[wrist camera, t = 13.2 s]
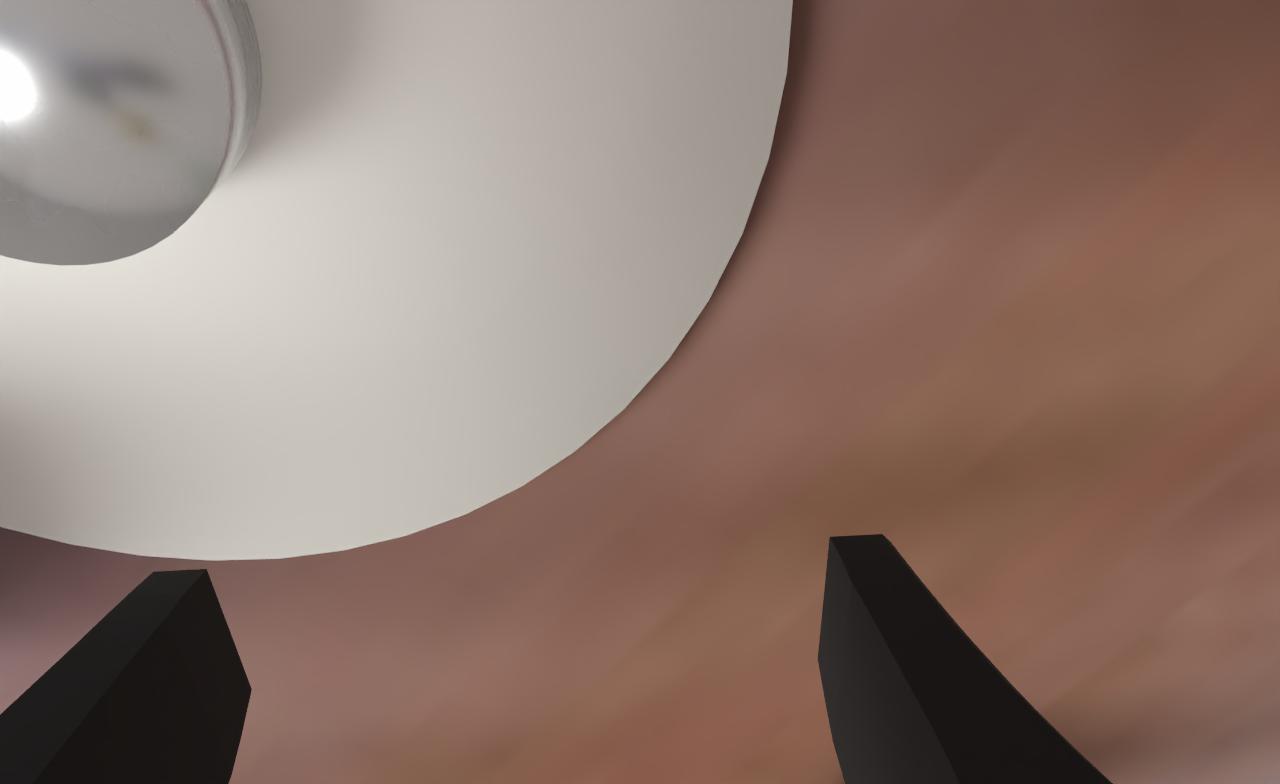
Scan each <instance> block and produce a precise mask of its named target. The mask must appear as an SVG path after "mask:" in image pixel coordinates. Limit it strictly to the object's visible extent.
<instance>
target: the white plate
mask: <svg viewBox="0 0 1280 784" xmlns="http://www.w3.org/2000/svg"><path fill="white" fill-rule="evenodd" d="M246 2H247V4H248V7H249V10H250V13H251V16H252V19H253V22H254V25H255V28H256V33H257V38H258V43H259V48H260V53H261V64H262V77H263V80H262V97H261V105H260V110H259V115H258V120H257V124H256V127H255V130H254V132H253V135H252V138H251V140H250V143H249V145H248V147H247V149H246V150H245V152H244V154H243V156H242V157H241V159H240V161H239V163H238V164H237V165H236V166H235V167H234V169H233V170H232V171H231V172H230V174H229V175H228V176H227V177H226V179H225V180H224V181H223V182H222V183H221V184H220V185H219V186H218V187H217V188H216V190H215V191H214V192H213V193H212V194H211V195H210V196H209V197H208V198H207V199H206V200H205V202H204V203H203V204H202V205H201V206H200V207H199V208H198V209H197V210H196V211H195V213H194V214H193V215H192V216H191V217H190V218H189V219H188V220H187V221H186V222H185V223H184V224H183V225H182V226H180V227H179V228H178V229H177V230H176V231H175V232H174V233H173V234H172V235H170V236H168V237H167V238H165V239H164V240H162V241H161V242H159V243H157V244H156V245H154V246H153V247H151V248H148V249H146V250H144V251H141V252H139V253H137V254H135V255H132V256H129V257H125V258H122V259H118V260H114V261H111V262H105V263H97V264H90V265H51V264H41V263H33V262H28V261H23V260H18V259H13V258H8V257H5V256H2V255H0V527H3V528H7V529H11V530H15V531H19V532H23V533H27V534H31V535H35V536H39V537H43V538H47V539H51V540H55V541H59V542H63V543H67V544H71V545H77V546H84V547H90V548H96V549H102V550H109V551H115V552H121V553H128V554H134V555H140V556H152V557H167V558H182V559H196V560H211V561H212V560H250V559H280V558H288V557H296V556H304V555H312V554H320V553H328V552H336V551H343V550H348V549H352V548H356V547H360V546H365V545H369V544H373V543H377V542H382V541H386V540H390V539H394V538H398V537H403V536H406V535H409V534H412V533H415V532H418V531H420V530H423V529H426V528H429V527H432V526H434V525H437V524H440V523H443V522H446V521H448V520H451V519H454V518H457V517H460V516H462V515H465V514H467V513H469V512H471V511H473V510H475V509H477V508H479V507H481V506H483V505H485V504H487V503H489V502H491V501H493V500H495V499H497V498H499V497H502V496H504V495H506V494H508V493H510V492H512V491H514V490H516V489H518V488H520V487H522V486H523V485H525V484H526V483H528V482H529V481H531V480H532V479H534V478H535V477H537V476H538V475H540V474H541V473H543V472H544V471H546V470H547V469H549V468H551V467H552V466H554V465H555V464H557V463H558V462H560V461H561V460H563V459H564V458H566V457H567V456H569V455H570V454H572V453H573V452H575V451H576V450H577V449H578V448H579V447H581V446H582V445H583V444H584V443H585V442H586V441H588V440H589V439H590V438H591V437H592V436H593V435H595V434H596V433H597V432H598V431H599V430H600V429H602V428H603V427H604V426H605V425H606V424H607V423H609V422H610V421H611V420H612V419H613V418H614V417H616V416H617V415H618V414H619V413H620V412H621V411H623V410H624V409H625V408H626V406H627V405H628V404H629V403H630V402H631V401H632V400H633V399H634V398H635V396H636V395H637V394H638V393H639V392H640V391H641V390H642V389H643V388H644V386H645V385H646V384H647V383H648V382H649V381H650V380H651V379H652V377H653V376H654V375H655V374H656V373H657V372H658V371H659V370H660V369H661V367H662V366H663V365H664V364H665V363H666V362H667V361H668V360H669V358H670V357H671V355H672V354H673V353H674V351H675V350H676V348H677V347H678V345H679V344H680V342H681V341H682V339H683V338H684V336H685V335H686V333H687V332H688V331H689V329H690V328H691V326H692V325H693V323H694V322H695V320H696V319H697V317H698V316H699V314H700V313H701V312H702V310H703V309H704V307H705V306H706V304H707V303H708V301H709V299H710V297H711V296H712V294H713V292H714V290H715V288H716V286H717V284H718V282H719V280H720V278H721V276H722V274H723V272H724V270H725V268H726V266H727V264H728V262H729V260H730V258H731V256H732V254H733V252H734V250H735V248H736V246H737V244H738V242H739V240H740V238H741V236H742V234H743V231H744V228H745V225H746V223H747V220H748V217H749V214H750V211H751V208H752V205H753V203H754V200H755V197H756V194H757V191H758V188H759V185H760V182H761V180H762V177H763V174H764V171H765V168H766V165H767V162H768V160H769V156H770V151H771V146H772V142H773V137H774V132H775V127H776V122H777V118H778V113H779V108H780V103H781V99H782V94H783V89H784V84H785V80H786V75H787V66H788V54H789V42H790V30H791V18H792V5H793V0H246Z"/></svg>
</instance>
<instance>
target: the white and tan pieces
mask: <svg viewBox="0 0 1280 784" xmlns="http://www.w3.org/2000/svg"><path fill="white" fill-rule="evenodd" d="M262 80H263V77H262V64H261V53H260V48H259V43H258V38H257V33H256V28H255V25H254V22H253V19H252V16H251V13H250V10H249V7H248V4H247V2H246V0H0V255H2V256H5V257H8V258H13V259H18V260H23V261H28V262H33V263H41V264H51V265H90V264H97V263H105V262H111V261H114V260H118V259H122V258H125V257H129V256H132V255H135V254H137V253H139V252H141V251H144V250H146V249H148V248H151V247H153V246H154V245H156V244H157V243H159V242H161V241H162V240H164V239H165V238H167V237H168V236H170V235H172V234H173V233H174V232H175V231H176V230H177V229H178V228H179V227H180V226H182V225H183V224H184V223H185V222H186V221H187V220H188V219H189V218H190V217H191V216H192V215H193V214H194V213H195V211H196V210H197V209H198V208H199V207H200V206H201V205H202V204H203V203H204V202H205V200H206V199H207V198H208V197H209V196H210V195H211V194H212V193H213V192H214V191H215V190H216V188H217V187H218V186H219V185H220V184H221V183H222V182H223V181H224V180H225V179H226V177H227V176H228V175H229V174H230V172H231V171H232V170H233V169H234V167H235V166H236V165H237V164H238V163H239V161H240V159H241V157H242V156H243V154H244V152H245V150H246V149H247V147H248V145H249V143H250V140H251V138H252V135H253V132H254V130H255V127H256V124H257V120H258V115H259V110H260V105H261V97H262Z"/></svg>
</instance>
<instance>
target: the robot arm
mask: <svg viewBox="0 0 1280 784" xmlns="http://www.w3.org/2000/svg"><path fill="white" fill-rule="evenodd" d="M818 663H819V668H820V674H821V680H822V685H823V691H824V697H825V702H826V708H827V713H828V718H829V723H830V728H831V733H832V739H833V743H834V746H835V750H836V753H837V757H838V760H839V763H840V767H841V770H842V773H843V777H844V780H845V783H846V784H1113V783H1111V782H1110V781H1109V780H1108V779H1107V778H1106V777H1105V776H1104V775H1103V774H1102V773H1100V772H1099V771H1098V770H1097V769H1096V768H1095V767H1094V766H1093V765H1092V764H1091V763H1090V762H1089V761H1088V760H1086V759H1085V758H1084V757H1083V756H1082V755H1081V754H1080V753H1079V752H1078V751H1077V750H1076V749H1075V748H1074V747H1073V746H1072V745H1071V744H1070V743H1069V742H1068V741H1067V740H1066V739H1065V738H1064V737H1063V736H1062V735H1061V734H1060V733H1059V732H1058V731H1057V730H1056V729H1055V728H1054V727H1053V726H1052V725H1051V724H1050V723H1049V722H1048V721H1047V720H1046V719H1045V718H1044V717H1042V716H1041V715H1040V714H1039V713H1038V712H1037V711H1036V710H1035V709H1034V708H1033V706H1032V705H1031V704H1030V703H1029V702H1028V701H1027V700H1026V699H1025V698H1024V697H1023V696H1022V695H1021V694H1020V693H1019V692H1018V691H1017V690H1016V689H1015V688H1014V687H1013V686H1012V685H1011V683H1010V682H1009V681H1008V680H1007V679H1006V678H1005V677H1004V676H1003V675H1002V674H1001V672H1000V671H999V670H998V669H997V668H996V667H995V666H994V665H993V664H992V663H991V661H990V660H989V659H988V658H987V657H986V656H985V655H984V654H983V653H982V652H981V650H980V649H979V648H978V647H977V646H976V645H975V644H974V643H973V642H972V641H971V639H970V638H969V637H968V636H967V635H966V634H965V633H964V631H963V630H962V629H961V628H960V627H959V626H958V624H957V623H956V622H955V621H954V620H953V619H952V617H951V616H950V615H949V614H948V613H947V611H946V610H945V609H944V608H943V607H942V605H941V604H940V603H939V602H938V601H937V600H936V598H935V597H934V596H933V595H932V594H931V592H930V591H929V590H928V589H927V587H926V586H925V585H924V584H923V582H922V581H921V580H920V579H919V577H918V576H917V575H916V574H915V572H914V571H913V570H912V569H911V567H910V566H909V565H908V564H907V562H906V561H905V560H904V559H903V557H902V556H901V555H900V554H899V552H898V551H897V550H896V548H895V547H894V546H893V545H892V543H891V542H890V541H889V540H888V539H887V538H886V537H885V536H884V535H882V534H877V535H858V536H838V537H830V540H829V550H828V560H827V571H826V581H825V591H824V601H823V611H822V622H821V632H820V642H819V652H818ZM251 690H252V689H251V686H250V684H249V681H248V678H247V676H246V673H245V670H244V668H243V665H242V662H241V660H240V657H239V654H238V652H237V649H236V646H235V644H234V641H233V638H232V636H231V633H230V630H229V628H228V625H227V622H226V620H225V617H224V614H223V612H222V609H221V606H220V604H219V601H218V598H217V596H216V593H215V590H214V588H213V585H212V582H211V580H210V577H209V574H208V572H207V569H200V570H181V571H162V572H153V573H152V574H151V575H150V576H148V577H147V578H146V579H145V580H144V581H143V582H142V583H140V584H139V585H138V586H137V587H136V588H135V589H134V590H133V591H132V592H131V593H129V594H128V595H127V596H126V597H125V598H124V599H123V600H122V601H121V602H120V603H119V604H118V605H117V606H116V607H115V608H113V609H112V610H111V611H110V612H109V613H108V614H107V615H106V616H105V617H104V618H103V619H102V620H101V621H100V622H99V623H98V624H97V625H96V626H95V627H93V628H92V629H91V630H90V631H89V632H88V633H87V634H86V635H85V636H84V637H83V638H82V639H81V640H80V641H79V642H78V643H77V644H76V645H75V646H74V647H72V648H71V649H70V650H69V651H68V652H67V653H66V654H65V655H64V656H63V657H62V658H61V659H60V660H59V661H58V662H57V663H55V664H54V665H53V666H52V667H51V668H50V669H49V670H48V671H47V672H46V673H45V674H44V675H43V676H41V677H40V678H39V679H38V680H37V681H36V682H35V683H34V684H33V685H32V686H31V687H30V688H29V689H28V690H26V691H25V692H24V693H23V694H22V695H21V696H20V697H19V698H18V699H17V700H16V701H15V702H14V703H12V704H11V705H10V706H9V707H8V708H7V709H6V710H5V711H4V712H3V713H2V714H1V715H0V784H228V783H229V780H230V777H231V775H232V771H233V767H234V763H235V759H236V755H237V751H238V747H239V743H240V739H241V735H242V730H243V726H244V721H245V717H246V712H247V708H248V703H249V699H250V694H251Z"/></svg>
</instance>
